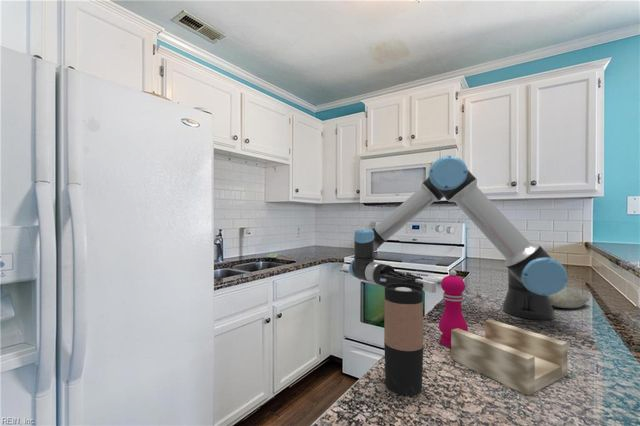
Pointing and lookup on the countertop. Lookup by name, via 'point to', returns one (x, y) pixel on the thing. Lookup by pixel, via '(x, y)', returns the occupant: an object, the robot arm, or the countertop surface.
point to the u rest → (511, 356)
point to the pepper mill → (452, 307)
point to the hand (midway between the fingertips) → (434, 287)
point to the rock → (568, 299)
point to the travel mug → (403, 338)
